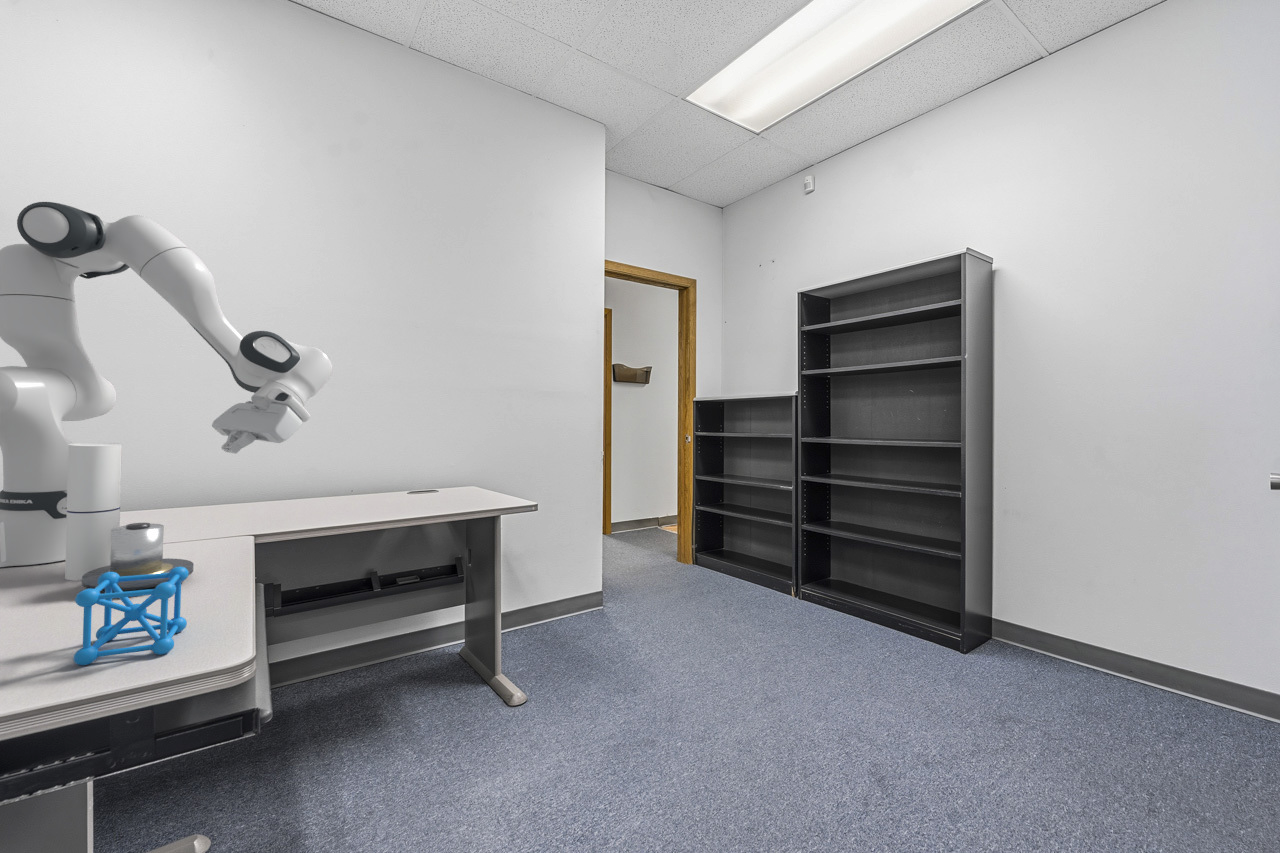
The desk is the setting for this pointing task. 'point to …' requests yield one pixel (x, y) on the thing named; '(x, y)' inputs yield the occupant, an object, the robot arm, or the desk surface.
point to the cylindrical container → (91, 505)
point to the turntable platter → (168, 564)
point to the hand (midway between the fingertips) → (227, 451)
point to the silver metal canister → (136, 549)
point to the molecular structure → (131, 614)
